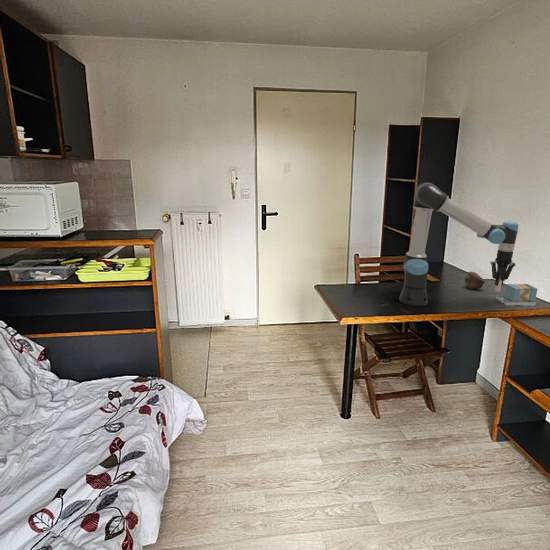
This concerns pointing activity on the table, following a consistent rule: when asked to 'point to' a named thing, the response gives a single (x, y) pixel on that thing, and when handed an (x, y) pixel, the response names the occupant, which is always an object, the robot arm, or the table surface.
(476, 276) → the rock
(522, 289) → the block
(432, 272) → the table surface
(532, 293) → the vise
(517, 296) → the jaw
